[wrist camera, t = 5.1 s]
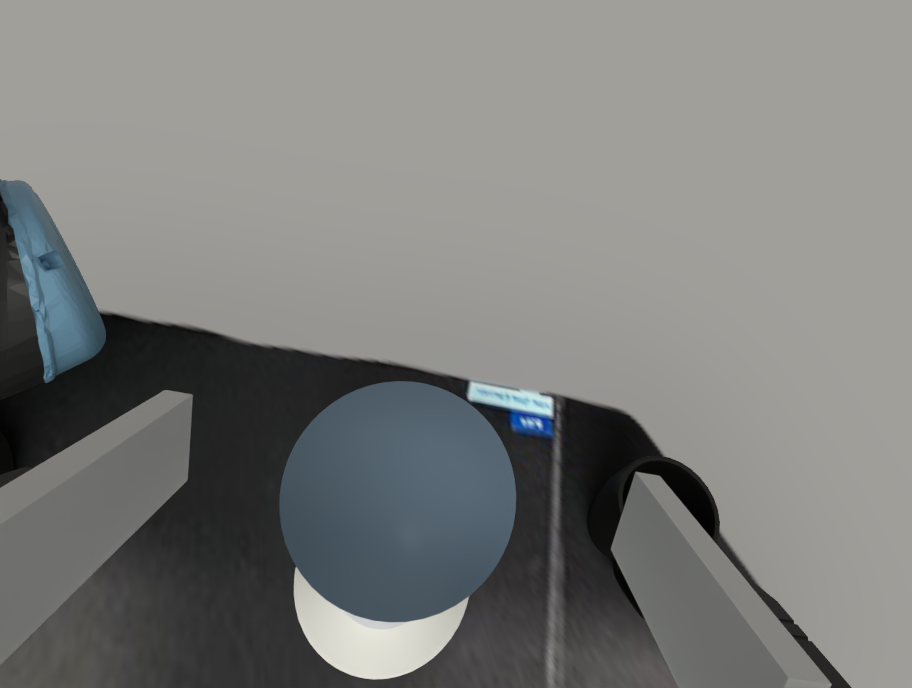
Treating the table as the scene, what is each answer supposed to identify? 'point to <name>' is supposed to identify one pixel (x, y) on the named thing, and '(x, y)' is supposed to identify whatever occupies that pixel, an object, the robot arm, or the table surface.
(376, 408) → the plunger
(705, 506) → the mug
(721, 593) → the robot arm
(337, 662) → the bottle
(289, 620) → the table surface
